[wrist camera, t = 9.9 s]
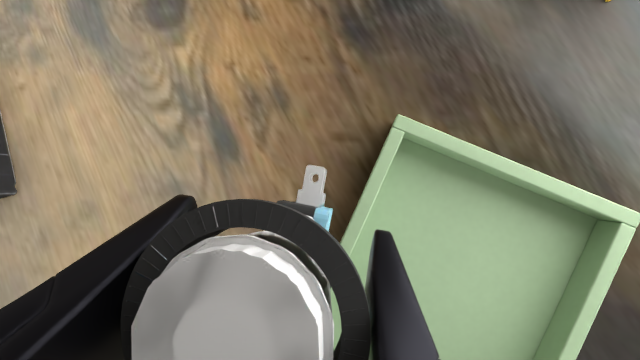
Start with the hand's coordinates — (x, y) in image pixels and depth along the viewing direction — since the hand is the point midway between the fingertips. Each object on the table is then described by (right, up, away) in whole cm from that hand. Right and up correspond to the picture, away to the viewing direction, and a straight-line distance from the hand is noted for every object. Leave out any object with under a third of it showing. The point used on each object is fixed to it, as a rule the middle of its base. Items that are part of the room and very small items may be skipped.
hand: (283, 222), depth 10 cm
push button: (+1, -2, +7) cm, 7 cm away
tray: (+8, -6, +12) cm, 16 cm away
